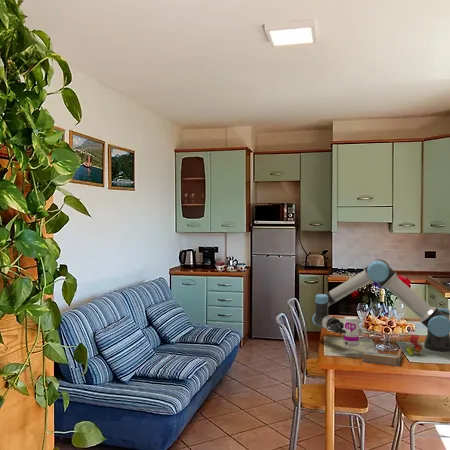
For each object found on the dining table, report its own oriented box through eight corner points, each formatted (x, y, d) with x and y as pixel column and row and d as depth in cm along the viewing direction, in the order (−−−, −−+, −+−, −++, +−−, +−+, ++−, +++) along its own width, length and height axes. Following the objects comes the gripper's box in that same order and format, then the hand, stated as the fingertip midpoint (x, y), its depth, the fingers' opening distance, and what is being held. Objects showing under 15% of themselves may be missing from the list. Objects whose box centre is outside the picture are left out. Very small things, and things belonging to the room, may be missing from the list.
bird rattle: (416, 356, 248) (401, 350, 248) (424, 338, 248) (409, 332, 248) (420, 360, 242) (405, 353, 242) (429, 341, 242) (413, 335, 242)
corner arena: (401, 356, 242) (401, 349, 242) (399, 366, 226) (399, 358, 226) (367, 352, 250) (367, 345, 250) (362, 361, 234) (362, 353, 234)
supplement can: (357, 347, 240) (356, 320, 240) (341, 345, 245) (341, 318, 244) (361, 344, 247) (360, 317, 247) (346, 342, 251) (345, 315, 251)
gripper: (346, 328, 266) (372, 337, 245) (316, 332, 258) (341, 341, 237) (346, 315, 266) (372, 323, 245) (316, 319, 258) (340, 327, 237)
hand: (356, 332), depth 241 cm, fingers closed on supplement can, 8 cm apart
